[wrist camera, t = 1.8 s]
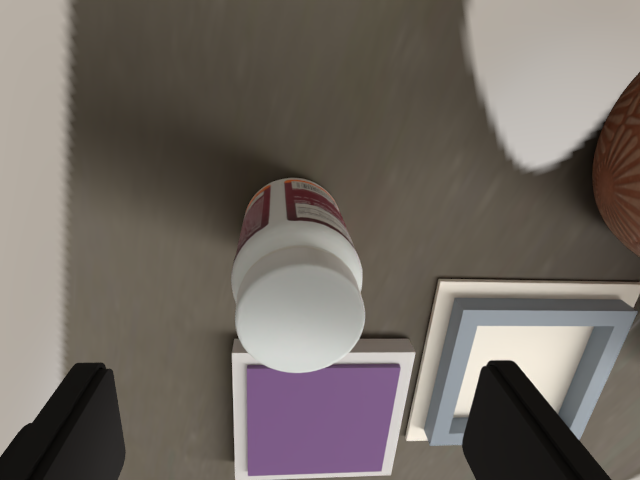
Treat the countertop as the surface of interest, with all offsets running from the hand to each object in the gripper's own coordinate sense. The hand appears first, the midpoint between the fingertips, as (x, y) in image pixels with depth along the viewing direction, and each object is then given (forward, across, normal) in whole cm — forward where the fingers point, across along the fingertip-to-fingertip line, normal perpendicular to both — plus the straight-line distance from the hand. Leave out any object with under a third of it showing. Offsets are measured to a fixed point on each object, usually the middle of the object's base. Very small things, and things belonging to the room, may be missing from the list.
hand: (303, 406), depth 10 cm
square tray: (+11, -14, +8) cm, 20 cm away
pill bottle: (+11, 0, -1) cm, 11 cm away
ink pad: (+11, -2, +11) cm, 16 cm away
